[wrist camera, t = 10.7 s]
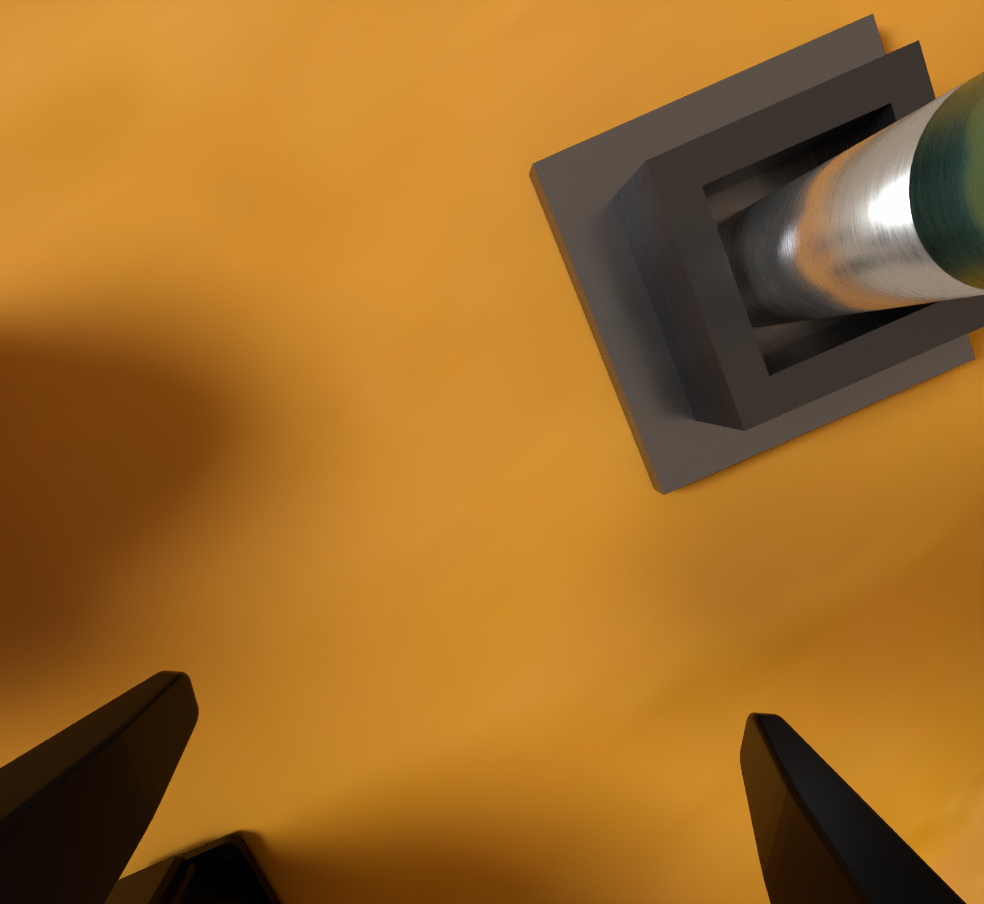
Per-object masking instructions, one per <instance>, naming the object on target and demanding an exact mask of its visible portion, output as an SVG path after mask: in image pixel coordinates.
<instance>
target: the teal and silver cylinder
mask: <svg viewBox="0 0 984 904" xmlns="http://www.w3.org/2000/svg"><path fill="white" fill-rule="evenodd" d="M718 233H719V235H720V238H721V241H722V244H723V247H724V250H725V252H726V255H727V258H728V261H729V264H730V267H731V269H732V272H733V275H734V278H735V281H736V284H737V286H738V289H739V292H740V295H741V298H742V301H743V303H744V306H745V309H746V312H747V315H748V318H749V320H750V323H751V326H752V327H766V326H773V325H780V324H787V323H794V322H801V321H808V320H814V319H821V318H828V317H835V316H842V315H849V314H856V313H863V312H869V311H876V310H883V309H890V308H897V307H904V306H911V305H917V304H924V303H931V302H938V301H945V300H952V299H959V298H966V297H972V296H979V295H984V72H982V73H981V74H979V75H977V76H975V77H974V78H972V79H970V80H968V81H967V82H965V83H963V84H961V85H960V86H958V87H956V88H954V89H953V90H951V91H949V92H947V93H946V94H944V95H942V96H940V97H939V98H937V99H935V100H933V101H932V102H930V103H928V104H926V105H925V106H923V107H921V108H919V109H918V110H916V111H914V112H912V113H911V114H909V115H907V116H905V117H904V118H902V119H900V120H898V121H897V122H895V123H893V124H891V125H890V126H888V127H886V128H884V129H883V130H881V131H879V132H877V133H876V134H874V135H872V136H870V137H869V138H867V139H865V140H863V141H862V142H860V143H858V144H856V145H855V146H853V147H851V148H849V149H848V150H846V151H844V152H842V153H841V154H839V155H837V156H835V157H834V158H832V159H830V160H828V161H827V162H825V163H823V164H821V165H820V166H818V167H816V168H814V169H813V170H811V171H809V172H807V173H806V174H804V175H802V176H800V177H799V178H797V179H795V180H793V181H792V182H790V183H788V184H786V185H785V186H783V187H781V188H779V189H778V190H776V191H774V192H772V193H771V194H769V195H767V196H765V197H764V198H762V199H760V200H758V201H757V202H755V203H753V204H751V205H750V206H748V207H746V208H744V209H743V210H741V211H739V212H737V213H736V214H734V215H733V216H731V217H730V218H729V219H727V220H726V221H725V222H724V223H723V224H722V225H721V226H720V228H719V229H718Z"/></svg>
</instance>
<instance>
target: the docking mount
mask: <svg viewBox="0 0 984 904" xmlns="http://www.w3.org/2000/svg"><path fill="white" fill-rule="evenodd" d="M933 100H935V95H934V92H933V88H932V85H931V81H930V78H929V74H928V71H927V67H926V64H925V60H924V57H923V53H922V50H921V46H920V43H919V40H918V41H916V42H914V43H911V44H909V45H907V46H905V47H902V48H900V49H898V50H896V51H893V52H891V53H889V54H886V55H885V53H884V49H883V46H882V42H881V39H880V36H879V32H878V29H877V25H876V22H875V19H874V15H873V14H871V15H869V16H866V17H864V18H862V19H860V20H857V21H855V22H853V23H851V24H848V25H846V26H844V27H842V28H839V29H837V30H835V31H832V32H830V33H828V34H826V35H823V36H821V37H819V38H817V39H814V40H812V41H810V42H808V43H805V44H803V45H801V46H798V47H796V48H794V49H792V50H789V51H787V52H785V53H783V54H780V55H778V56H776V57H774V58H771V59H769V60H767V61H764V62H762V63H760V64H758V65H755V66H753V67H751V68H749V69H746V70H744V71H742V72H740V73H737V74H735V75H733V76H730V77H728V78H726V79H724V80H721V81H719V82H717V83H715V84H712V85H710V86H708V87H706V88H703V89H701V90H699V91H696V92H694V93H692V94H690V95H687V96H685V97H683V98H681V99H678V100H676V101H674V102H672V103H669V104H667V105H665V106H662V107H660V108H658V109H656V110H653V111H651V112H649V113H647V114H644V115H642V116H640V117H638V118H635V119H633V120H631V121H628V122H626V123H624V124H622V125H619V126H617V127H615V128H613V129H610V130H608V131H606V132H604V133H601V134H599V135H597V136H594V137H592V138H590V139H588V140H585V141H583V142H581V143H579V144H576V145H574V146H572V147H570V148H567V149H565V150H563V151H560V152H558V153H556V154H554V155H551V156H549V157H547V158H545V159H542V160H540V161H538V162H535V163H533V164H532V167H531V170H530V173H529V175H530V178H531V180H532V183H533V185H534V188H535V190H536V193H537V195H538V198H539V200H540V203H541V205H542V208H543V210H544V213H545V215H546V218H547V221H548V223H549V226H550V228H551V231H552V233H553V236H554V238H555V241H556V243H557V246H558V248H559V251H560V253H561V256H562V258H563V261H564V263H565V266H566V268H567V271H568V273H569V276H570V278H571V281H572V283H573V286H574V288H575V291H576V293H577V296H578V298H579V301H580V303H581V306H582V308H583V311H584V314H585V316H586V319H587V321H588V324H589V326H590V329H591V331H592V334H593V336H594V339H595V341H596V344H597V346H598V349H599V351H600V354H601V356H602V359H603V361H604V364H605V366H606V369H607V371H608V374H609V376H610V379H611V381H612V384H613V386H614V389H615V391H616V394H617V396H618V399H619V402H620V404H621V407H622V409H623V412H624V414H625V417H626V419H627V422H628V424H629V427H630V429H631V432H632V434H633V437H634V439H635V442H636V444H637V447H638V449H639V452H640V454H641V457H642V459H643V462H644V464H645V467H646V469H647V472H648V474H649V477H650V479H651V482H652V484H653V487H654V489H655V490H656V491H658V492H660V493H661V494H663V495H665V494H667V493H669V492H672V491H674V490H676V489H679V488H681V487H683V486H685V485H688V484H690V483H692V482H695V481H697V480H699V479H701V478H704V477H706V476H708V475H711V474H713V473H715V472H717V471H720V470H722V469H724V468H727V467H729V466H731V465H733V464H736V463H738V462H740V461H743V460H745V459H747V458H749V457H752V456H754V455H756V454H759V453H761V452H763V451H765V450H768V449H770V448H772V447H775V446H777V445H779V444H781V443H784V442H786V441H788V440H791V439H793V438H795V437H797V436H800V435H802V434H804V433H806V432H809V431H811V430H813V429H816V428H818V427H820V426H822V425H825V424H827V423H829V422H832V421H834V420H836V419H838V418H841V417H843V416H845V415H848V414H850V413H852V412H854V411H857V410H859V409H861V408H864V407H866V406H868V405H870V404H873V403H875V402H877V401H880V400H882V399H884V398H886V397H889V396H891V395H893V394H896V393H898V392H900V391H902V390H905V389H907V388H909V387H912V386H914V385H916V384H918V383H921V382H923V381H925V380H928V379H930V378H932V377H934V376H937V375H939V374H941V373H944V372H946V371H948V370H950V369H953V368H955V367H957V366H960V365H962V364H964V363H966V362H969V361H971V360H973V359H975V358H974V354H973V351H972V348H971V344H970V341H969V337H968V333H970V332H972V331H974V330H977V329H979V328H981V327H984V295H979V296H972V297H966V298H959V299H952V300H945V301H938V302H931V303H924V304H917V305H911V306H904V307H897V308H890V309H883V310H876V311H869V312H863V313H856V314H849V315H842V316H835V317H828V318H821V319H814V320H808V321H801V322H794V323H787V324H780V325H773V326H766V327H752V326H751V323H750V320H749V318H748V315H747V312H746V309H745V306H744V303H743V301H742V298H741V295H740V292H739V289H738V286H737V284H736V281H735V278H734V275H733V272H732V269H731V267H730V264H729V261H728V258H727V255H726V252H725V250H724V247H723V244H722V241H721V238H720V235H719V233H718V229H719V228H720V226H721V225H722V224H723V223H724V222H725V221H726V220H727V219H729V218H730V217H731V216H733V215H734V214H736V213H737V212H739V211H741V210H743V209H744V208H746V207H748V206H750V205H751V204H753V203H755V202H757V201H758V200H760V199H762V198H764V197H765V196H767V195H769V194H771V193H772V192H774V191H776V190H778V189H779V188H781V187H783V186H785V185H786V184H788V183H790V182H792V181H793V180H795V179H797V178H799V177H800V176H802V175H804V174H806V173H807V172H809V171H811V170H813V169H814V168H816V167H818V166H820V165H821V164H823V163H825V162H827V161H828V160H830V159H832V158H834V157H835V156H837V155H839V154H841V153H842V152H844V151H846V150H848V149H849V148H851V147H853V146H855V145H856V144H858V143H860V142H862V141H863V140H865V139H867V138H869V137H870V136H872V135H874V134H876V133H877V132H879V131H881V130H883V129H884V128H886V127H888V126H890V125H891V124H893V123H895V122H897V121H898V120H900V119H902V118H904V117H905V116H907V115H909V114H911V113H912V112H914V111H916V110H918V109H919V108H921V107H923V106H925V105H926V104H928V103H930V102H932V101H933Z"/></svg>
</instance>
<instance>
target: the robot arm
mask: <svg viewBox="0 0 984 904" xmlns="http://www.w3.org/2000/svg"><path fill="white" fill-rule="evenodd" d="M198 714H199V708H198V704H197V701H196V697H195V694H194V690H193V687H192V684H191V680H190V677H189V676H188V675H187V674H186V673H184V672H177V671H161V672H159V673H157V674H155V675H153V676H152V677H150V678H148V679H147V680H145V681H143V682H142V683H140V684H138V685H137V686H135V687H133V688H132V689H130V690H128V691H127V692H125V693H124V694H122V695H120V696H119V697H117V698H115V699H114V700H112V701H110V702H109V703H107V704H105V705H104V706H102V707H100V708H99V709H97V710H95V711H94V712H92V713H91V714H89V715H87V716H86V717H84V718H82V719H81V720H79V721H77V722H76V723H74V724H72V725H71V726H69V727H67V728H66V729H64V730H62V731H61V732H59V733H57V734H56V735H54V736H53V737H51V738H49V739H48V740H46V741H44V742H43V743H41V744H39V745H38V746H36V747H34V748H33V749H31V750H29V751H28V752H26V753H24V754H23V755H21V756H20V757H18V758H16V759H15V760H13V761H11V762H10V763H8V764H6V765H5V766H3V767H1V768H0V904H280V902H279V900H278V898H277V897H276V895H275V893H274V891H273V890H272V888H271V886H270V884H269V883H268V881H267V879H266V877H265V876H264V874H263V872H262V870H261V869H260V867H259V865H258V863H257V862H256V860H255V858H254V856H253V855H252V853H251V851H250V849H249V848H248V846H247V844H246V842H245V841H244V840H243V838H242V837H240V836H238V835H233V834H231V835H227V836H225V837H222V838H220V839H218V840H215V841H213V842H211V843H209V844H206V845H204V846H202V847H199V848H197V849H195V850H193V851H190V852H188V853H186V854H183V855H175V856H172V857H170V858H168V859H165V860H163V861H161V862H159V863H156V864H154V865H152V866H149V867H147V868H145V869H143V870H140V871H138V872H136V873H133V874H131V875H129V876H127V877H124V878H122V879H120V880H118V879H119V878H120V876H121V874H122V872H123V871H124V869H125V867H126V865H127V863H128V862H129V860H130V858H131V856H132V855H133V853H134V851H135V849H136V848H137V846H138V844H139V842H140V840H141V839H142V837H143V835H144V833H145V832H146V830H147V828H148V826H149V824H150V822H151V820H152V819H153V817H154V815H155V813H156V810H157V808H158V806H159V804H160V802H161V800H162V798H163V796H164V794H165V791H166V789H167V787H168V785H169V783H170V780H171V778H172V776H173V774H174V772H175V769H176V767H177V765H178V763H179V761H180V758H181V756H182V754H183V752H184V750H185V747H186V745H187V743H188V741H189V739H190V736H191V734H192V732H193V730H194V728H195V725H196V723H197V719H198ZM740 763H741V770H742V775H743V780H744V785H745V790H746V795H747V800H748V805H749V810H750V815H751V820H752V825H753V830H754V835H755V840H756V845H757V850H758V855H759V860H760V864H761V869H762V873H763V878H764V882H765V885H766V889H767V892H768V896H769V899H770V903H771V904H966V903H965V902H964V901H963V900H962V899H961V898H960V897H959V896H958V895H957V894H956V893H955V892H954V891H953V890H952V889H951V888H950V887H949V886H948V885H947V884H946V883H945V882H944V881H943V880H942V879H941V878H940V877H939V876H938V875H937V874H936V873H935V872H934V871H933V870H932V869H931V868H930V867H929V866H928V865H927V864H926V863H925V862H924V861H923V860H922V859H921V858H920V856H919V855H918V854H917V853H916V852H915V851H914V850H913V849H912V848H911V847H910V846H909V845H908V844H907V843H906V842H905V841H904V840H903V839H902V838H901V837H900V836H899V835H898V834H897V833H896V832H895V831H894V830H893V829H892V828H891V827H890V826H889V825H888V824H887V823H886V822H885V821H884V820H883V819H882V818H881V817H880V816H879V815H878V814H877V813H876V812H875V811H874V810H873V809H872V808H871V807H870V806H869V805H868V804H867V803H866V802H865V801H864V800H863V799H862V798H861V797H860V796H859V795H858V794H857V793H856V792H855V791H854V790H853V789H852V788H851V787H850V786H849V785H848V784H847V783H846V782H845V781H844V780H843V779H842V778H841V777H840V776H839V775H838V774H837V773H836V772H835V771H834V770H833V769H832V768H831V767H830V766H829V765H828V764H827V763H826V762H825V761H824V760H823V759H822V758H821V757H820V756H819V754H818V753H817V752H816V751H815V750H814V749H813V748H812V747H811V746H810V745H809V744H808V743H807V742H806V741H805V740H804V739H803V738H802V737H801V736H800V735H799V734H798V733H797V732H796V731H795V730H794V729H793V728H792V727H791V726H790V725H789V724H788V723H787V722H786V721H785V720H784V719H783V718H782V717H780V716H778V715H776V714H768V713H751V714H749V716H748V718H747V721H746V726H745V731H744V736H743V740H742V745H741V750H740ZM227 849H233V850H234V851H235V852H231V851H228V850H227Z"/></svg>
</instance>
